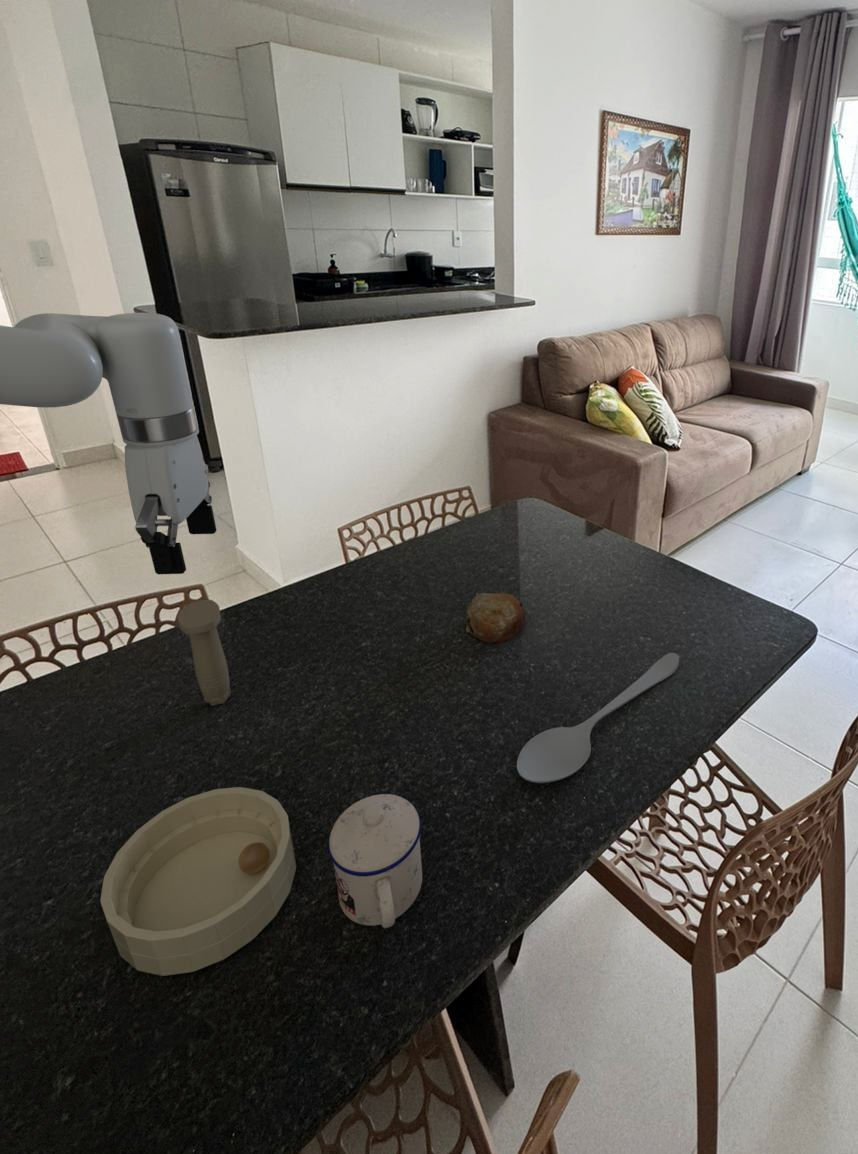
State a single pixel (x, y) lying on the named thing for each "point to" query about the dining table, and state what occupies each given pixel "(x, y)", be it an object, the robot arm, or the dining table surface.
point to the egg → (254, 858)
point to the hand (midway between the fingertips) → (188, 551)
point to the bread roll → (494, 617)
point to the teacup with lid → (377, 859)
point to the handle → (206, 649)
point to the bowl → (198, 881)
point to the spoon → (580, 733)
